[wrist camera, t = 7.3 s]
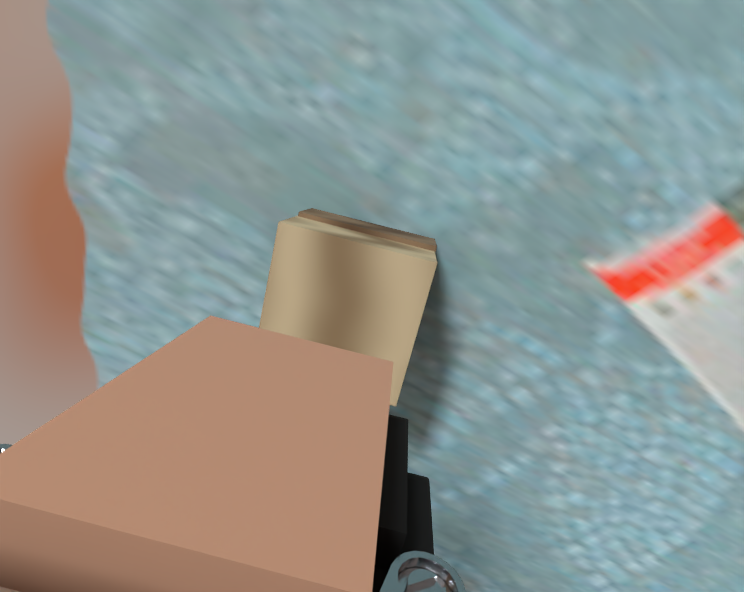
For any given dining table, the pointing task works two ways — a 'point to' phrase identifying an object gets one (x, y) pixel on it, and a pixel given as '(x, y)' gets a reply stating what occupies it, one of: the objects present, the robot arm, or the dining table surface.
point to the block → (205, 473)
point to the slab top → (348, 291)
